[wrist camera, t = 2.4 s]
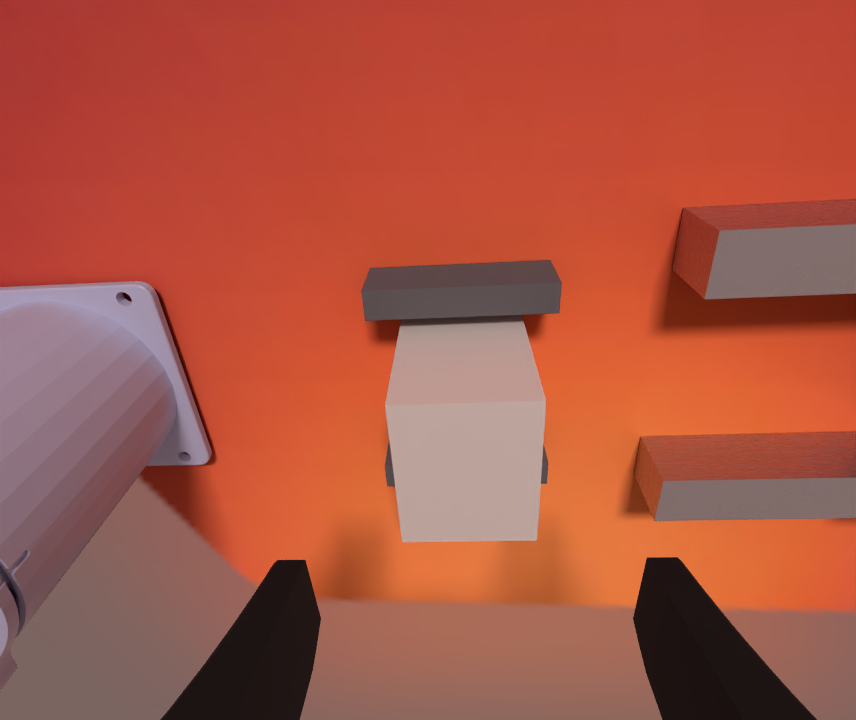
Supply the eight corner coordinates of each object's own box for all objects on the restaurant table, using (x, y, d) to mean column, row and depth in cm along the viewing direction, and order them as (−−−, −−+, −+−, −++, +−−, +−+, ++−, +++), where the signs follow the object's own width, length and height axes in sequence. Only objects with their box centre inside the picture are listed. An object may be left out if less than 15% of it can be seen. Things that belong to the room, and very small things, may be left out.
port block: (633, 474, 21) (659, 531, 19) (683, 207, 16) (728, 235, 13) (912, 469, 21) (978, 527, 18) (1064, 188, 15) (1189, 214, 13)
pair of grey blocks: (392, 451, 21) (387, 486, 20) (370, 268, 17) (361, 290, 16) (538, 448, 21) (546, 483, 19) (550, 260, 17) (561, 282, 15)
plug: (414, 421, 21) (402, 542, 15) (403, 306, 18) (385, 405, 13) (514, 418, 20) (536, 540, 15) (518, 302, 18) (546, 400, 13)
